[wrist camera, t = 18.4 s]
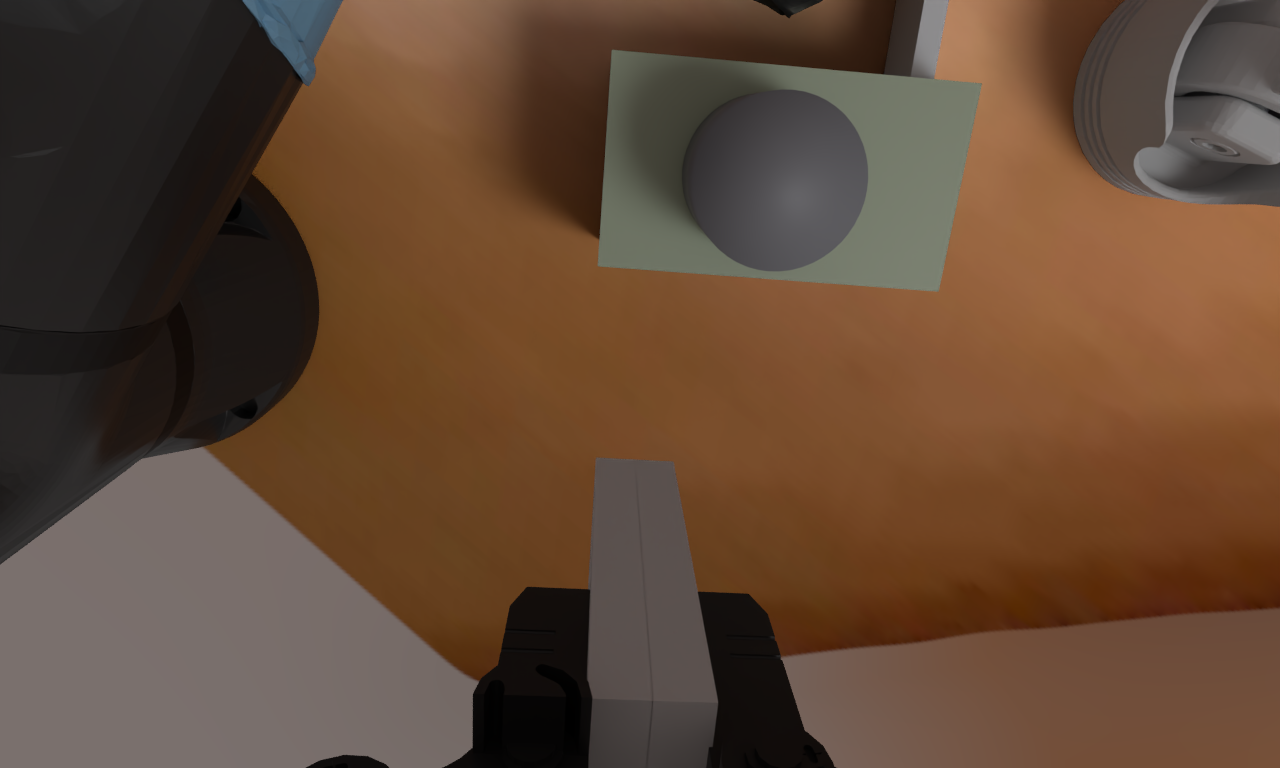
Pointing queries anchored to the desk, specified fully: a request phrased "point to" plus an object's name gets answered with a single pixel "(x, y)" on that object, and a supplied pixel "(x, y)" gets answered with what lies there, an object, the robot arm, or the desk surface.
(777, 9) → the battery
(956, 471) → the desk surface
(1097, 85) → the engine component
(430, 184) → the desk surface
